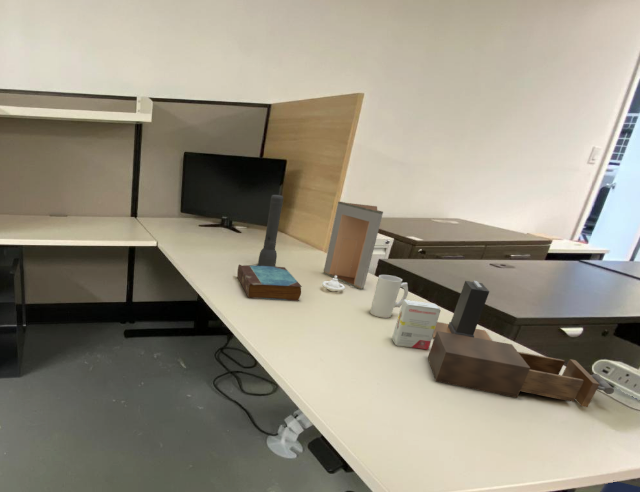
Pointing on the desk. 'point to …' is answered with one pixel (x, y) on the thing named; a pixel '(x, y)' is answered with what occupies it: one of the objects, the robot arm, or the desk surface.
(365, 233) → the cabinet
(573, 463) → the desk surface
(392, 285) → the mug
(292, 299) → the book
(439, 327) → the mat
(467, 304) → the dark grey upright block
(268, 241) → the flashlight
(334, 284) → the ring around a ball
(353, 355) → the desk surface
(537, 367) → the drawer
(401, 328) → the ink box
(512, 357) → the cabinet
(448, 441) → the desk surface
